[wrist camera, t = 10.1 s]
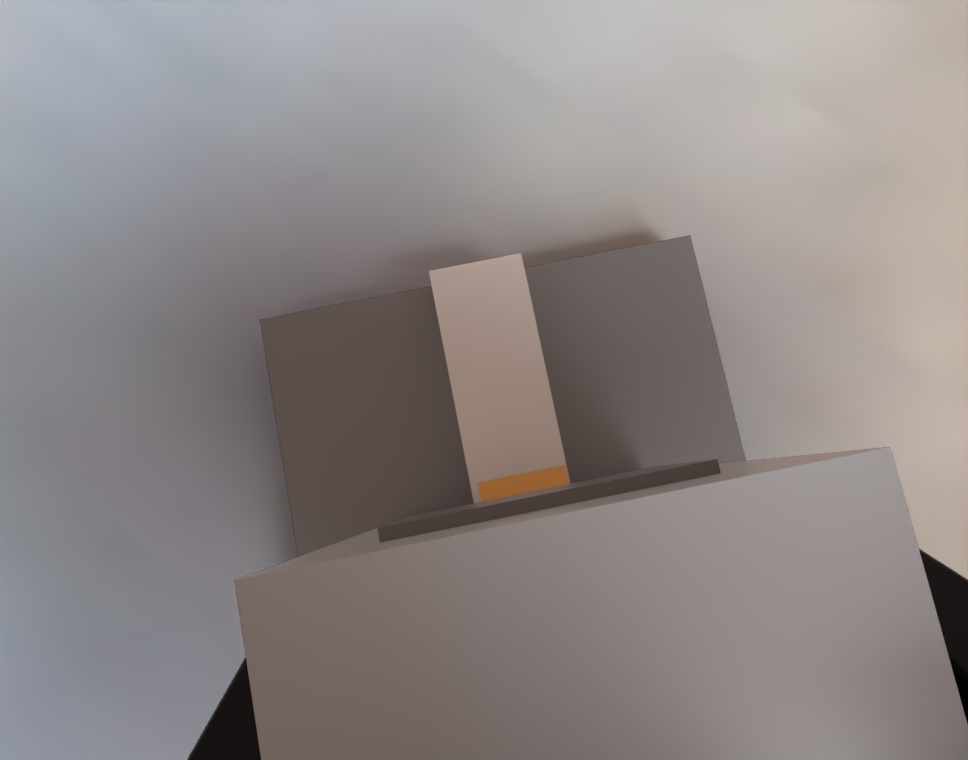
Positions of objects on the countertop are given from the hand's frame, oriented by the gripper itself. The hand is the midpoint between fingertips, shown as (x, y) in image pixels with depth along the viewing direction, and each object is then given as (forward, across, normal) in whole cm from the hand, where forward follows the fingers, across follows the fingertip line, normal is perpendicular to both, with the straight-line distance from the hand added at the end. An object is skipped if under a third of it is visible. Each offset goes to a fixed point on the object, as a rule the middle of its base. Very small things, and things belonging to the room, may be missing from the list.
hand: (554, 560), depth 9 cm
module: (+4, 0, +6) cm, 7 cm away
